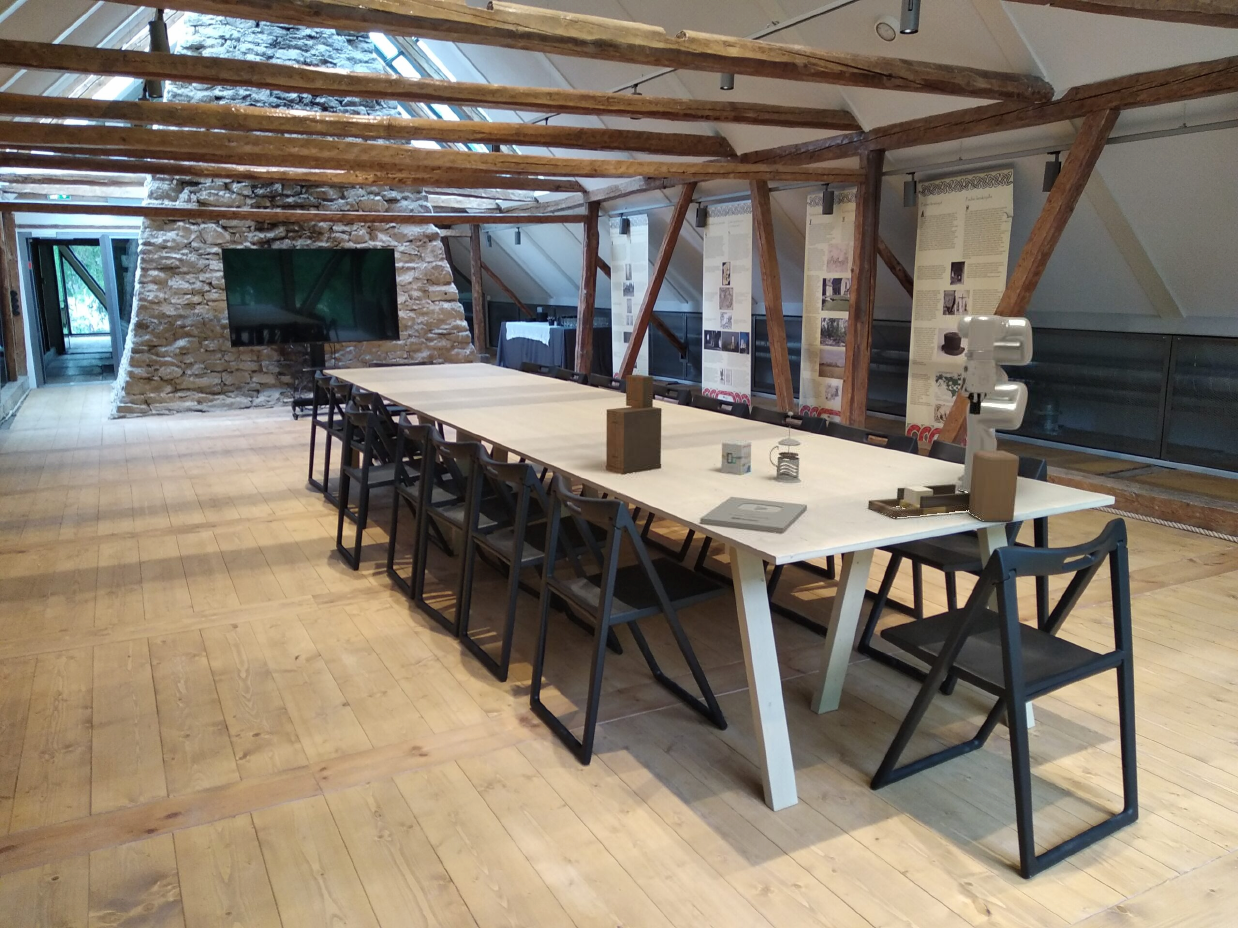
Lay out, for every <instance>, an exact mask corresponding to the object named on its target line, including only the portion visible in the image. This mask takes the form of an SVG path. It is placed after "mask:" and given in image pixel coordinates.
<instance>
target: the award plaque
mask: <svg viewBox="0 0 1238 928" xmlns="http://www.w3.org/2000/svg"><path fill="white" fill-rule="evenodd" d="M807 509H808V504H802V503H795V502H794V503H792V502H783V501H775V500H773V501H772V500H764V499H757V498H746V497H737V496H731V497H729V498H727V499H726V500H725V501H723V502H721V503H720V504H719V505H718V506H716V507H714V508H713V509H711V510H710V511H708V512H707V513H706V514H704V515H703V516H701V517H700V519H699V522H700V524H701V525H707V526H715V527H716V526H717V527H724V528H726V527H727V528H733V529H742V530H749V531H750V530H751V531H756V532H757V531H759V532H765V531H767V532H766V533H773V532H776V533H775V534H781V533H783V534H784V533H785V532H786V531H788V529H789V528H790V527H791V526H792V525H794V523H795V522H796V521H797V520H798V519H799V518H800V517H802V515H803V514H804V513H805V512H806V511H808V510H807Z"/></svg>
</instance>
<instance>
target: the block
mask: <svg viewBox="0 0 1238 928" xmlns="http://www.w3.org/2000/svg"><path fill="white" fill-rule="evenodd" d="M1019 465H1020V457H1019V456H1018V455H1015V454H1012V453H1010V452H1008V451H1005V450H996V451H975V452H974V454H973V465H972V477H971V488H970V499H969V512H970V513H971V514H973V515H974V516H977V517H978V518H980V519H981V520H984V521H983V522H1012V521H1013V520H1014V515H1015V505H1016V494H1017V486H1018V485H1017V483H1018V474H1019ZM971 514H970V515H971ZM974 516H973V517H974ZM978 518H977V519H978ZM981 520H980V521H981Z"/></svg>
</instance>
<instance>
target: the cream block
mask: <svg viewBox="0 0 1238 928" xmlns="http://www.w3.org/2000/svg"><path fill="white" fill-rule="evenodd" d="M923 486H924V485H914V486H904V488H905V489H904V501H905V502H908V503H910V504H913V505H920V496H929V495H933V490H932V489H929V488H926V487H923Z"/></svg>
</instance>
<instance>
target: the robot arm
mask: <svg viewBox="0 0 1238 928" xmlns="http://www.w3.org/2000/svg"><path fill="white" fill-rule="evenodd" d="M956 327H957V328H956V329H957V334H958V336H959V337H960V338H961V339H964V340H965V339H966V340H967V350H966V352H965V353H964V357H965V358H966V360H964V363H963V367H962V371H961V376H960V377H961V378H960V390H961V393H960V395H961V396H962V397H966V398H967V400H968V402H969V403H968V404H967V407H966V411H965V412H966V413H965V416H966V428H967V429H966V445H965V457H964V468H963V469H964V472H963V474H962V475H961V476H958V477H957V481H960V483H961V484H959V485H958V486H957V490H958V489H960V490H963V491H967V492H970V488H971V477H972V465H973V454H974V452H975V451H997V446H998V441H997V438H996V436H995V435H994V433H993V432H992V430H994V429H995V430H1008V431H1009V430H1010V431H1013V430H1017V429H1018V428H1020V427H1021V424H1022V423H1023V418H1024V415H1025V411H1026V406H1027V402H1028V393H1029V392H1028V387H1027V386H1026V384H1025V383H1023V382H1021V381H1009V376H1008V375H1007V373H1006V372H1005V370H1004V369H1003V368H1002V367H1001V366H999V365H1003V366H1004V365H1007V366H1025V365H1028V364H1029V363H1030V362H1031V361H1032V358H1033V331H1032V330H1033V329H1032V326H1031V323H1030V320H1029V319H1027V318H1026V317H1019V316H1018V317H1015V316H1012V317H1010V316H1009V317H1007V316H1001V315H996V314H993V315H992V314H963V315H962V316H961V317H960V318H959V320H958V322H957V326H956ZM991 429H992V430H991Z"/></svg>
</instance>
